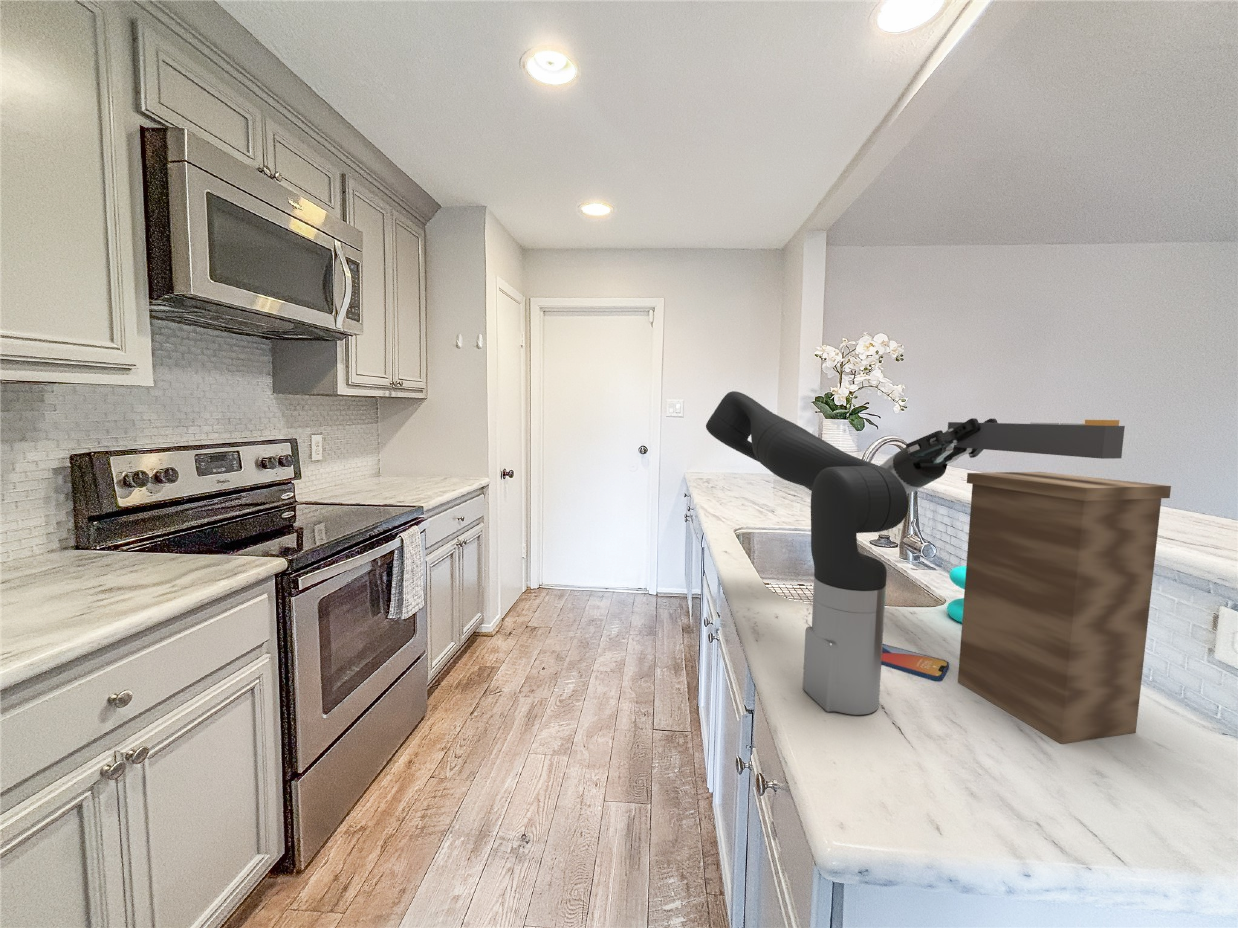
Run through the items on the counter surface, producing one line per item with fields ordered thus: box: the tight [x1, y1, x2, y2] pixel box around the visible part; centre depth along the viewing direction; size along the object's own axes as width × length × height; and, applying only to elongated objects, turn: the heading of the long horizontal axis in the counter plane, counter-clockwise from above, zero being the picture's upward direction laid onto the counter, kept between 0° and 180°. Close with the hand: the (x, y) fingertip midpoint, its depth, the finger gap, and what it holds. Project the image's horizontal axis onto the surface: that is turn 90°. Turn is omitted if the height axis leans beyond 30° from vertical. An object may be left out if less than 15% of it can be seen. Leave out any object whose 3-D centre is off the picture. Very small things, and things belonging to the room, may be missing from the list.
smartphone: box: [881, 643, 950, 682], centre depth 85 cm, size 7×15×1 cm, turn 47°
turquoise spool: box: [946, 565, 966, 624], centre depth 101 cm, size 10×10×10 cm
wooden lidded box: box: [957, 471, 1172, 745], centre depth 70 cm, size 13×16×32 cm
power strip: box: [947, 419, 1126, 460], centre depth 74 cm, size 3×23×5 cm, turn 12°
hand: (986, 423), depth 79 cm, fingers closed on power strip, 3 cm apart
